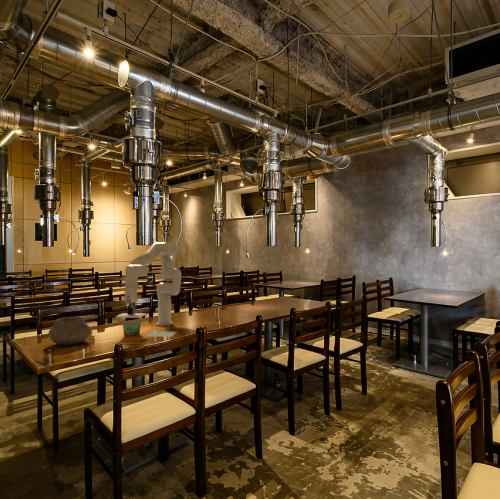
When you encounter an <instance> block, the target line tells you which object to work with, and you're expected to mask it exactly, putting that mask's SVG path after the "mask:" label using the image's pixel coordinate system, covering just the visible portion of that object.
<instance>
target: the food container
mask: <svg viewBox="0 0 500 499" xmlns="http://www.w3.org/2000/svg"><path fill="white" fill-rule="evenodd" d="M141 324H142V320H141V319H140V320H137V321H134V320H130V321H122V322H121V325H122V328H123V336H124V337H137V336H140V334H141V333H140V332H141Z"/></svg>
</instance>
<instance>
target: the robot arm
mask: <svg viewBox="0 0 500 499" xmlns="http://www.w3.org/2000/svg"><path fill="white" fill-rule="evenodd" d="M179 253H180V248H179V246H178V245H177V244H174V243H171V242H168V241H161V242H160V241H159V242H158V241H155V242H153V243H152V244H151V245H150V246H149V248H148V249H147V250H146V251H145V252H144V253H143V254H141V255H139V256H137V257H135V258H134V259H132V260H131V261H130V262H129V264H128V265H125V275H124V277H125V278H124V279H125V281H124V285H125V286H124V287H125V289H124V301H123V302H124V303H125V305H126V307H127V313H128V314H133V308H132V306H135V307H136V303H137V301H138V287H139V284H138V283H139V277H145V276H146V275H148V273H149V268H148V266H147V265H149V264H153V263H155V262H156V261H157V259H158V257H159V259H160V260H161V264H160V265H161V266H160V280H162V282H159V283H158V284H157V286H156V295H157V322H155V326H158V325H159V326H160V327H164V326H165V327H167V326H166V325H168V326H171V324H172V325H173V324H174V322H173V321H172V298H171V297H170V296H178V295H179V294H180V292H181V282H182V271H181V269H180V268H177V267H176V268H175V267H174V261H173V258H172V257H175V256H178V254H179ZM163 281H165V282H163ZM166 281H167V282H166ZM170 281H171V282H170Z"/></svg>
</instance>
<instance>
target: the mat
mask: <svg viewBox="0 0 500 499" xmlns="http://www.w3.org/2000/svg"><path fill="white" fill-rule="evenodd" d="M176 334H177V331H151V332H150V333H148V334H146V337H152V338H153V337H156V338H157V337H167V338H169V337H173V336H174V335H176Z"/></svg>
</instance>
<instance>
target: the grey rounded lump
mask: <svg viewBox="0 0 500 499" xmlns="http://www.w3.org/2000/svg"><path fill="white" fill-rule="evenodd" d="M85 320H86V319H85V318H84V317H82V316H68V317H67V316H65V317H61V318H57V319H56V321H55V322H54V324H53V325H52V326H51V327H50V328H49V330H48V332H47V333H48V334H47V335H48V338H49V340H50V341H51V342H52V343H54V344H58V345H63V346H71V345H73V346H74V345H77V344H80V343H82V342H84V341H85V340H87V339H88V337H89V336H90V335H91V332H92V330H91V327H90V326H89V324H88V323H87V322H86V321H85Z"/></svg>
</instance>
